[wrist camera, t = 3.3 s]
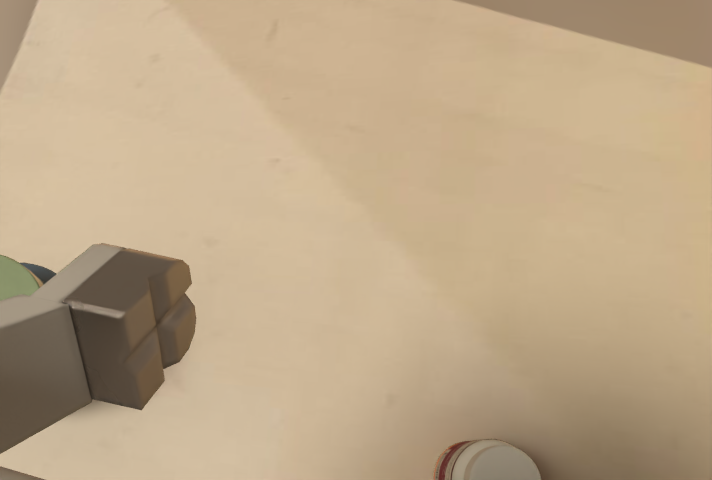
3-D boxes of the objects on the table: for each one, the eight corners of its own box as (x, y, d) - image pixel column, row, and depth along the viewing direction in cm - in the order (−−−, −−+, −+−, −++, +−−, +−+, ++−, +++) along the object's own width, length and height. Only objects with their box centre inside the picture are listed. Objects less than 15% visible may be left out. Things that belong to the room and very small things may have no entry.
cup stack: (76, 438, 42) (13, 433, 33) (-58, 391, 42) (-159, 373, 33) (135, 305, 45) (93, 266, 36) (10, 262, 45) (-65, 211, 36)
